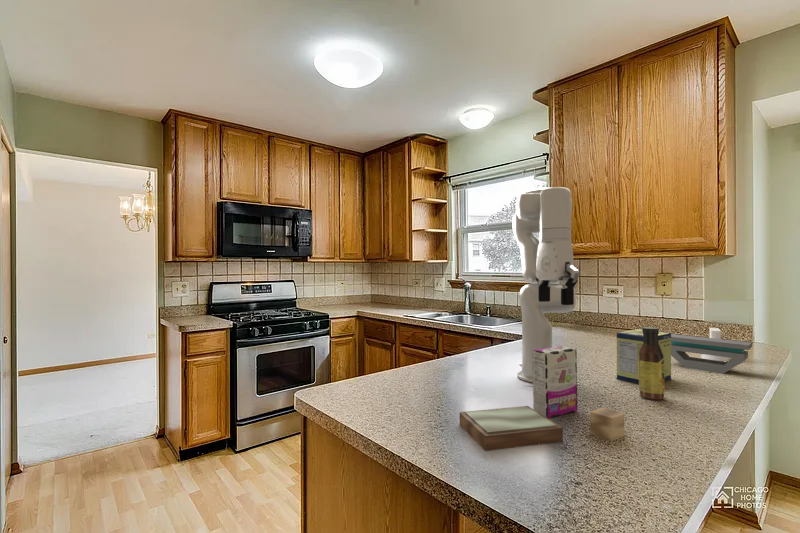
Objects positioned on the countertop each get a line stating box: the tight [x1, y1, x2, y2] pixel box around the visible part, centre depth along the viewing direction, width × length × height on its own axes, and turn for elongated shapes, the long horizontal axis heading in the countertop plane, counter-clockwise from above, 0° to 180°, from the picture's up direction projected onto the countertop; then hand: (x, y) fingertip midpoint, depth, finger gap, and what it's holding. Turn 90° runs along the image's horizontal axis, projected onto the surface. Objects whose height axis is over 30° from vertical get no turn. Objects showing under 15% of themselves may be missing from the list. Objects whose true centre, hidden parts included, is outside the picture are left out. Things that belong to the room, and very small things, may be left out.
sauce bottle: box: [638, 326, 666, 401], centre depth 117 cm, size 6×6×20 cm
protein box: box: [616, 328, 672, 385], centre depth 136 cm, size 10×16×16 cm
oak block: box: [589, 406, 625, 442], centre depth 91 cm, size 5×5×5 cm
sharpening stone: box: [671, 333, 753, 374], centre depth 149 cm, size 25×8×11 cm, turn 42°
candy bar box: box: [532, 345, 578, 419], centre depth 105 cm, size 11×5×16 cm, turn 117°
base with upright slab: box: [700, 327, 730, 361], centre depth 164 cm, size 9×9×12 cm
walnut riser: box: [459, 405, 564, 452], centre depth 92 cm, size 14×18×3 cm
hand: (555, 303), depth 105 cm, fingers open, 9 cm apart
